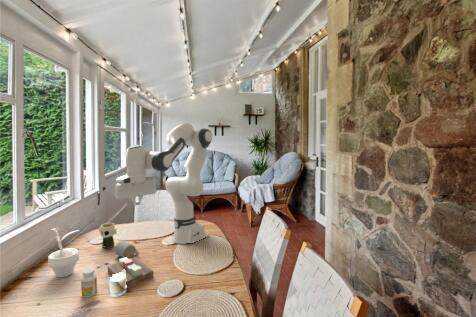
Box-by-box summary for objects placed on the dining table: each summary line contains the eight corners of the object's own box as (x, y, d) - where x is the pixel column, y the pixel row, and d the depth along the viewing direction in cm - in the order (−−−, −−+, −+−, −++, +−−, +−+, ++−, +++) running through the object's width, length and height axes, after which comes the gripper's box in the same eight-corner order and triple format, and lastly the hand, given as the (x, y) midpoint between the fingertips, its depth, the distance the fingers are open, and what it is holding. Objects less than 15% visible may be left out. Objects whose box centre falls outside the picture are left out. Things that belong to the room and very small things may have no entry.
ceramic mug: (124, 261, 128) (124, 246, 127) (114, 257, 132) (114, 243, 131) (141, 253, 137) (141, 239, 136) (131, 250, 141) (131, 236, 140)
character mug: (95, 248, 142) (94, 226, 141) (104, 243, 149) (103, 221, 148) (112, 250, 140) (111, 227, 139) (120, 245, 147) (120, 223, 146)
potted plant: (46, 284, 108) (43, 227, 106) (51, 271, 118) (48, 219, 116) (81, 276, 113) (78, 222, 111) (83, 265, 124) (81, 215, 122)
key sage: (138, 272, 113) (138, 265, 113) (142, 275, 111) (141, 268, 110) (131, 275, 111) (130, 268, 110) (134, 278, 108) (134, 270, 108)
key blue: (134, 270, 116) (134, 263, 116) (137, 272, 114) (137, 266, 114) (126, 272, 114) (126, 266, 113) (130, 275, 111) (129, 268, 111)
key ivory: (126, 263, 122) (126, 256, 122) (129, 265, 120) (129, 259, 120) (119, 265, 120) (119, 259, 120) (122, 268, 118) (121, 261, 117)
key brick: (130, 264, 119) (130, 258, 119) (133, 267, 117) (133, 260, 117) (122, 267, 117) (122, 260, 117) (125, 270, 114) (125, 263, 114)
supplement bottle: (91, 288, 105) (90, 266, 104) (100, 291, 103) (99, 268, 102) (78, 295, 100) (77, 272, 99) (87, 299, 98) (86, 275, 97)
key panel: (135, 262, 127) (135, 256, 126) (153, 277, 114) (153, 271, 113) (107, 272, 117) (107, 266, 117) (124, 289, 104) (124, 282, 104)
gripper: (152, 175, 135) (153, 200, 136) (112, 179, 120) (113, 207, 121) (158, 176, 131) (159, 202, 132) (117, 180, 116) (118, 210, 117)
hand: (136, 204), depth 126 cm, fingers closed
